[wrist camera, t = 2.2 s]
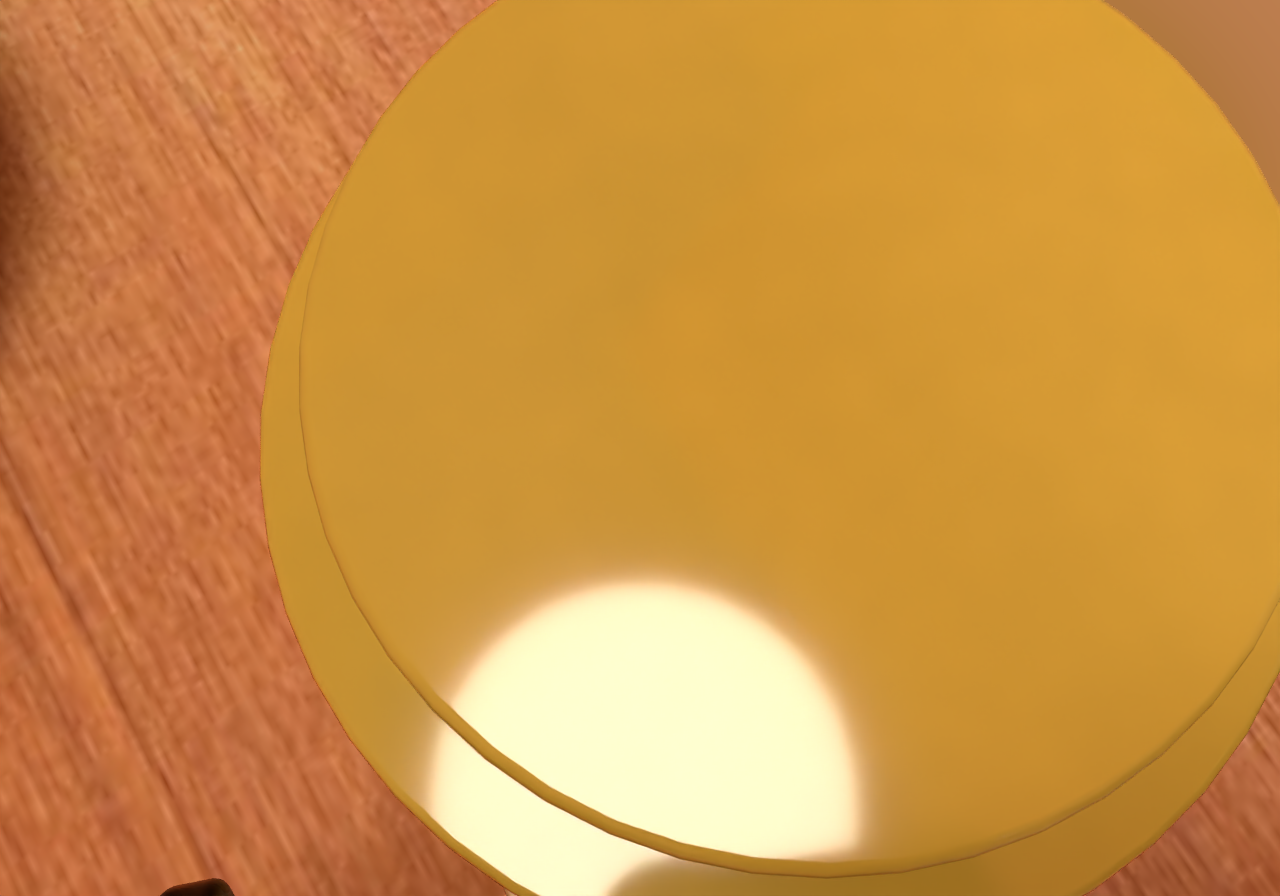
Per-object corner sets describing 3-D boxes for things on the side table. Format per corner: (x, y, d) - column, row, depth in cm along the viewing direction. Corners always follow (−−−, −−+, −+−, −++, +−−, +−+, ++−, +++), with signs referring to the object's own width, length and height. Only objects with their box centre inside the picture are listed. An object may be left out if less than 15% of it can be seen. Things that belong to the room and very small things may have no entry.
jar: (1079, 728, 14) (1730, 677, 5) (582, 951, 14) (432, 1280, 5) (848, 272, 16) (1068, -334, 7) (396, 455, 15) (31, 50, 7)
